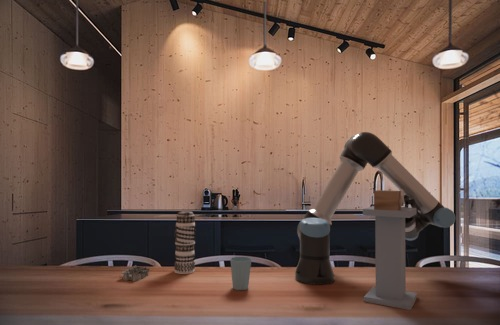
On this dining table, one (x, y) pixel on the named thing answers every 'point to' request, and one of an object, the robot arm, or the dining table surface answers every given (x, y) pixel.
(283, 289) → the dining table surface
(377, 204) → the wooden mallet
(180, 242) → the decorative candle
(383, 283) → the stand
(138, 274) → the brown lumpy stone
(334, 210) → the robot arm
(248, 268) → the cup
